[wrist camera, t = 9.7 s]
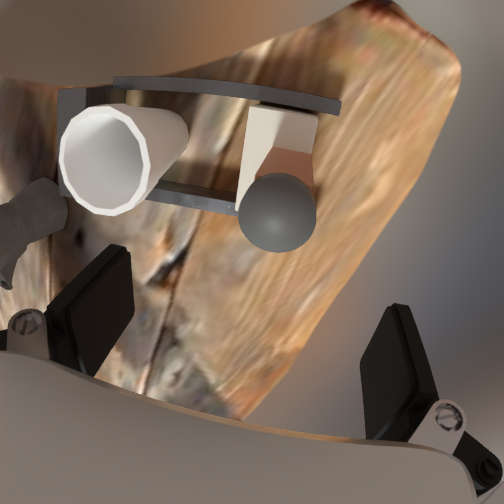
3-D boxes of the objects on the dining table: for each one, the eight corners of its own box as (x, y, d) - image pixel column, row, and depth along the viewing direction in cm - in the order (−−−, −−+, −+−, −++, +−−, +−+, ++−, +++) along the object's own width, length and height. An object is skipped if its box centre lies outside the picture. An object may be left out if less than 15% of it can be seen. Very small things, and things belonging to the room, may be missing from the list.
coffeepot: (87, 221, 42) (2, 290, 26) (59, 251, 46) (-13, 317, 30) (31, 143, 37) (-63, 184, 21) (10, 180, 41) (-71, 227, 25)
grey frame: (312, 221, 37) (312, 254, 30) (97, 182, 39) (60, 203, 32) (338, 100, 30) (348, 103, 23) (100, 77, 32) (58, 80, 25)
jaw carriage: (302, 202, 36) (296, 296, 20) (245, 191, 36) (197, 275, 21) (320, 115, 31) (335, 139, 15) (259, 103, 31) (212, 117, 16)
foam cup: (118, 150, 36) (49, 183, 25) (147, 83, 32) (77, 89, 20) (180, 188, 37) (127, 235, 26) (217, 120, 33) (169, 139, 22)
